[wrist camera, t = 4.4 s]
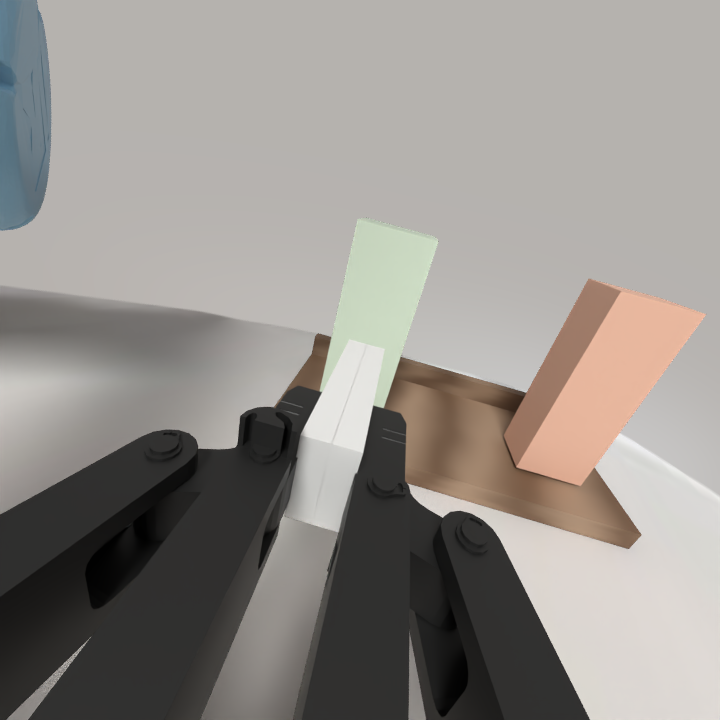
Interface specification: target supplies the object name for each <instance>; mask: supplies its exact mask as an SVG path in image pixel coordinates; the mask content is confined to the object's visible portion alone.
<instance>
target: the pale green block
mask: <svg viewBox="0 0 720 720" xmlns="http://www.w3.org/2000/svg"><path fill="white" fill-rule="evenodd" d="M438 242H439V241H438V240H437V239H436V237H434V236H431V235H427V234H423V233H420V232H416V231H413V230H409V229H405V228H402V227H398V226H394V225H390V224H387V223H383V222H380V221H376V220H372V219H369V218H362V219H358V220H357V225H356V229H355V234H354V238H353V243H352V247H351V252H350V256H349V261H348V266H347V270H346V274H345V279H344V284H343V288H342V292H341V297H340V301H339V306H338V310H337V315H336V320H335V324H334V329H333V333H332V338H331V342H330V347H329V351H328V356H327V360H326V365H325V369H324V374H323V378H322V383H321V387H320V392H323V390H324V388H325V386H326V384H327V382H328V380H329V378H330V376H331V374H332V372H333V370H334V369H335V367H336V365H337V363H338V361H339V359H340V357H341V355H342V353H343V351H344V349H345V347H346V345H347V343H348V341H349V339H350V340H354V341H357V342H361V343H365V344H368V345H372V346H375V347H379V348H383V349H385V351H384V355H383V360H382V365H381V370H380V375H379V379H378V384H377V389H376V394H375V399H374V403H373V405H374V406H377V407H381V408H384V406H385V403H386V400H387V397H388V394H389V391H390V387H391V384H392V381H393V378H394V375H395V372H396V369H397V366H398V363H399V360H400V357H401V354H402V351H403V348H404V345H405V342H406V339H407V336H408V333H409V330H410V327H411V324H412V320H413V318H414V315H415V312H416V309H417V305H418V302H419V299H420V296H421V293H422V290H423V287H424V284H425V281H426V278H427V275H428V272H429V269H430V266H431V263H432V260H433V257H434V254H435V251H436V248H437V245H438Z"/></svg>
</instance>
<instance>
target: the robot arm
mask: <svg viewBox="0 0 720 720" xmlns="http://www.w3.org/2000/svg"><path fill="white" fill-rule="evenodd" d="M50 90H51V89H50V74H49V62H48V51H47V43H46V36H45V30H44V24H43V20H42V17H41V14H40V12H39V10H38V5H37V0H0V230H13V229H17V228H20V227H22V226H24V225H26V224H28V223H29V222H31V221H32V220H33V219H34V218H35V216H36V215H37V214H38V212H39V210H40V208H41V205H42V203H43V200H44V196H45V192H46V187H47V181H48V172H49V162H50V148H51V147H50V146H51V91H50ZM384 351H385V349H383V348H379V347H375V346H372V345H368V344H365V343H361V342H357V341H354V340H350V339H349V341H348V343H347V345H346V347H345V349H344V351H343V353H342V355H341V357H340V359H339V361H338V363H337V365H336V367H335V369H334V370H333V372H332V374H331V376H330V378H329V380H328V382H327V384H326V386H325V388H324V390H323V392H320V391H316V390H313V389H309V388H306V387H302V386H299V385H298V386H296V387H294V388H292V389H290V390H288V391H287V392H286V394H285V395H284V396H283V398H282V399H281V401H280V402H279V403H278V405H277V406H276V408H273V407H257V408H254V409H251V410H248V411H246V412H245V413H244V414H242V415H241V416H240V425H239V435H238V445H237V446H236V447H235V448H231V449H221V450H216V449H198V444H197V441H196V439H195V438H194V437H193V436H191V435H190V434H189V433H186V432H183V431H180V430H161V431H155V432H152V433H149V434H147V435H144V436H142V437H140V438H138V439H136V440H135V441H133V442H131V443H129V444H127V445H126V446H124V447H122V448H120V449H118V450H117V451H115V452H113V453H111V454H109V455H107V456H106V457H104V458H102V459H100V460H98V461H97V462H95V463H93V464H91V465H89V466H88V467H86V468H84V469H82V470H80V471H79V472H77V473H75V474H73V475H71V476H70V477H68V478H66V479H64V480H62V481H60V482H59V483H57V484H55V485H53V486H51V487H50V488H48V489H46V490H44V491H42V492H41V493H39V494H37V495H35V496H33V497H32V498H30V499H28V500H26V501H24V502H23V503H21V504H19V505H17V506H15V507H13V508H12V509H10V510H8V511H6V512H4V513H3V514H1V515H0V720H6V719H7V718H8V717H9V716H10V715H11V714H12V713H13V712H14V711H15V710H16V709H17V708H18V707H19V706H20V705H21V704H22V703H23V702H24V701H25V700H26V699H27V698H29V697H30V696H31V695H32V694H33V693H34V692H35V691H36V690H37V689H38V688H39V687H40V686H41V685H42V684H43V683H44V682H45V681H46V680H47V679H48V678H49V677H50V676H51V675H52V674H53V673H54V672H55V671H56V670H57V669H58V668H59V667H60V666H61V665H62V664H63V663H64V662H65V661H66V660H68V659H69V658H70V657H71V656H72V655H73V654H74V653H75V652H76V651H77V650H78V649H79V648H80V647H81V646H82V645H83V644H84V643H85V642H86V641H87V640H88V639H89V638H90V637H91V636H92V637H91V638H90V639H89V641H88V642H87V643H86V645H85V646H84V647H83V648H82V650H81V651H80V652H79V654H78V655H77V656H76V658H75V659H74V660H73V662H72V663H71V664H70V666H69V667H68V668H67V670H66V671H65V672H64V673H63V675H62V676H61V677H60V679H59V680H58V681H57V683H56V684H55V685H54V687H53V688H52V689H51V691H50V692H49V693H48V694H47V696H46V697H45V698H44V700H43V701H42V702H41V704H40V705H39V706H38V708H37V709H36V710H35V712H34V713H33V714H32V716H31V717H30V718H29V719H28V720H200V718H201V716H202V714H203V711H204V709H205V706H206V704H207V702H208V699H209V697H210V695H211V692H212V690H213V687H214V685H215V683H216V680H217V678H218V676H219V673H220V671H221V668H222V666H223V664H224V661H225V659H226V657H227V654H228V652H229V649H230V647H231V645H232V642H233V640H234V637H235V635H236V633H237V630H238V628H239V626H240V623H241V621H242V618H243V616H244V614H245V611H246V609H247V607H248V604H249V602H250V599H251V597H252V595H253V592H254V590H255V587H256V585H257V583H258V580H259V578H260V576H261V573H262V571H263V568H264V566H265V564H266V561H267V559H268V557H269V554H270V552H271V549H272V547H273V545H274V542H275V540H276V537H277V535H278V529H279V524H280V520H281V518H282V516H283V514H284V511H285V509H286V511H285V517H288V518H292V519H295V520H298V521H302V522H305V523H309V524H312V525H315V526H319V527H322V528H325V529H329V530H332V531H335V532H339V533H338V537H337V540H336V544H335V547H334V550H333V554H332V557H331V560H330V563H329V567H328V570H327V571H328V575H327V579H326V583H325V587H324V591H323V596H322V600H321V604H320V608H319V612H318V616H317V621H316V625H315V629H314V633H313V637H312V641H311V646H310V650H309V654H308V658H307V662H306V666H305V671H304V675H303V679H302V683H301V687H300V691H299V696H298V700H297V704H296V708H295V712H294V716H293V720H408V707H409V630H410V635H411V641H412V646H413V651H414V656H415V662H416V667H417V672H418V678H419V683H420V688H421V694H422V699H423V704H424V709H425V715H426V720H590V719H589V717H588V715H587V713H586V711H585V709H584V707H583V705H582V703H581V701H580V699H579V697H578V695H577V693H576V691H575V689H574V687H573V685H572V683H571V681H570V679H569V677H568V675H567V673H566V671H565V669H564V667H563V665H562V663H561V661H560V659H559V657H558V655H557V653H556V651H555V649H554V647H553V645H552V643H551V641H550V639H549V637H548V635H547V633H546V631H545V629H544V627H543V625H542V623H541V621H540V619H539V617H538V615H537V613H536V611H535V609H534V607H533V605H532V603H531V601H530V599H529V597H528V595H527V593H526V591H525V589H524V587H523V585H522V583H521V581H520V579H519V577H518V575H517V573H516V571H515V569H514V567H513V565H512V563H511V561H510V559H509V557H508V555H507V553H506V551H505V549H504V547H503V545H502V543H501V541H500V539H499V538H498V536H497V535H496V533H495V532H494V530H493V529H492V528H491V527H490V526H489V525H488V524H486V523H485V522H484V521H483V520H482V519H480V518H478V517H476V516H475V515H473V514H470V513H467V512H463V511H454V512H450V513H448V514H447V515H445V516H444V517H443V518H442V517H440V516H438V515H437V514H435V513H433V512H432V511H430V510H428V509H427V508H425V507H424V506H422V505H421V504H420V503H418V502H417V501H416V500H415V499H414V498H413V496H412V495H411V493H410V489H409V486H408V484H407V483H406V481H405V462H406V427H407V424H406V422H405V420H404V418H403V416H402V414H401V413H398V412H395V411H391V410H388V409H384V408H381V407H377V406H374V405H373V403H374V399H375V394H376V389H377V384H378V379H379V375H380V370H381V365H382V360H383V355H384Z"/></svg>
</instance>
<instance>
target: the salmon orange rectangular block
mask: <svg viewBox="0 0 720 720" xmlns="http://www.w3.org/2000/svg"><path fill="white" fill-rule="evenodd" d="M705 315H706V314H703V313H701V312H698V311H695V310H692V309H690V308H687V307H684V306H681V305H678V304H676V303H673V302H670V301H667V300H664V299H662V298H658V297H655V296H651V295H647V294H644V293H640V292H636V291H632V290H629V289H625V288H622V287H618V286H614V285H611V284H607V283H603V282H600V281H596V280H592V279H588V281H587V283H586V284H585V286H584V288H583V290H582V292H581V294H580V296H579V297H578V300H577V301H576V303H575V305H574V307H573V309H572V310H571V312H570V314H569V316H568V318H567V320H566V321H565V323H564V325H563V327H562V329H561V331H560V332H559V334H558V336H557V338H556V340H555V342H554V344H553V345H552V347H551V349H550V351H549V353H548V355H547V356H546V358H545V360H544V362H543V364H542V366H541V367H540V369H539V371H538V373H537V375H536V377H535V378H534V380H533V382H532V384H531V386H530V388H529V389H528V391H527V393H526V395H525V397H524V399H523V401H522V402H521V404H520V406H519V408H518V410H517V412H516V413H515V415H514V417H513V419H512V421H511V423H510V425H509V426H508V428H507V430H506V432H505V434H504V438H505V440H506V443H507V445H508V448H509V450H510V453H511V455H512V458H513V460H514V463H515V465H516V467H517V468H520V469H524V470H527V471H531V472H534V473H537V474H541V475H544V476H548V477H551V478H554V479H558V480H561V481H565V482H568V483H572V484H575V485H578V486H581V485H582V484H583V482H584V481H585V479H586V478H587V477H588V475H589V474H590V473H591V471H592V470H593V468H594V467H595V466H596V464H597V463H598V462H599V460H600V459H601V458H602V456H603V455H604V453H605V452H606V451H607V449H608V448H609V447H610V445H611V444H612V443H613V441H614V440H615V438H616V437H617V436H618V434H619V433H620V431H621V430H622V429H623V427H624V426H625V425H626V423H627V422H628V420H629V419H630V418H631V417H632V415H633V414H634V412H635V411H636V410H637V408H638V407H639V406H640V404H641V403H642V402H643V400H644V399H645V397H646V396H647V395H648V393H649V392H650V391H651V389H652V388H653V386H654V385H655V384H656V382H657V381H658V380H659V378H660V377H661V375H662V374H663V373H664V371H665V370H666V369H667V367H668V366H669V365H670V363H671V362H672V360H673V359H674V358H675V356H676V355H677V354H678V352H679V351H680V350H681V348H682V347H683V345H684V344H685V343H686V341H687V340H688V339H689V337H690V336H691V335H692V333H693V332H694V330H695V329H696V328H697V326H698V325H699V324H700V322H701V321H702V319H703V318H704V317H705Z"/></svg>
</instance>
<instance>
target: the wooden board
mask: <svg viewBox="0 0 720 720" xmlns="http://www.w3.org/2000/svg"><path fill="white" fill-rule="evenodd" d="M331 338H332V337H329V336H325V335H322V334H317V335H316V336H315V341H314V346H313V351H312V354H311V356H310V357H309V359H308V360H307V361H306V363H305V364H304V366H303V367H302V369H301V370H300V371H299V373H298V374H297V376H296V377H295V378H294V380H293V381H292V383H291V384H290V385H289V387H288V388H287V390H286V391H285V393H284V394H283V395H282V397H281V398H280V400H279V401H278V402H277V404H276V405H275V407H274V408H276V406H277V405H278V403H279V402H280V401H281V399H282V398H283V396H284V395H285V394H286V392H287V391H288V390H290V389H292V388H294V387H296V386H298V385H299V386H302V387H306V388H309V389H313V390H316V391H320V387H321V383H322V378H323V374H324V369H325V365H326V360H327V356H328V351H329V347H330V342H331ZM525 395H526V393H525V392H521V391H518V390H514V389H511V388H507V387H504V386H500V385H497V384H493V383H490V382H486V381H483V380H479V379H476V378H472V377H469V376H465V375H462V374H458V373H455V372H451V371H448V370H444V369H441V368H437V367H434V366H430V365H427V364H423V363H420V362H416V361H413V360H409V359H406V358H402V357H400V360H399V363H398V366H397V369H396V372H395V375H394V378H393V381H392V384H391V387H390V391H389V394H388V397H387V400H386V403H385V406H384V409H388V410H391V411H395V412H398V413H401V414H402V416H403V418H404V420H405V422H406V424H407V427H406V462H405V481H406V483H409V484H412V485H416V486H419V487H422V488H426V489H429V490H433V491H436V492H439V493H443V494H446V495H449V496H453V497H456V498H459V499H463V500H466V501H470V502H473V503H476V504H480V505H483V506H486V507H490V508H493V509H496V510H500V511H503V512H506V513H510V514H513V515H517V516H520V517H523V518H527V519H530V520H533V521H537V522H540V523H543V524H547V525H550V526H554V527H557V528H560V529H564V530H567V531H570V532H574V533H577V534H580V535H584V536H587V537H591V538H594V539H597V540H601V541H604V542H607V543H611V544H614V545H617V546H621V547H624V548H628V549H629V548H630V547H631V546H632V545H633V544H634V543H635V542H636V540H637V539H638V538H639V537H640V536H641V533H640V532H639V531H638V529H637V528H636V526H635V525H634V523H633V522H632V521H631V519H630V518H629V516H628V515H627V513H626V512H625V511H624V509H623V508H622V506H621V505H620V503H619V502H618V501H617V499H616V498H615V496H614V495H613V493H612V492H611V491H610V489H609V488H608V486H607V485H606V484H605V482H604V481H603V479H602V478H601V476H600V475H599V474H598V472H597V471H596V469H595V468H593V470H592V471H591V473H590V474H589V475H588V477H587V478H586V479H585V481H584V482H583V484H582V485H581V486H578V485H575V484H572V483H568V482H565V481H561V480H558V479H554V478H551V477H548V476H544V475H541V474H537V473H534V472H531V471H527V470H524V469H520V468H517V467H516V465H515V463H514V460H513V458H512V455H511V453H510V450H509V448H508V445H507V443H506V440H505V438H504V434H505V432H506V430H507V428H508V426H509V425H510V423H511V421H512V419H513V417H514V415H515V413H516V412H517V410H518V408H519V406H520V404H521V402H522V401H523V399H524V397H525Z"/></svg>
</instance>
